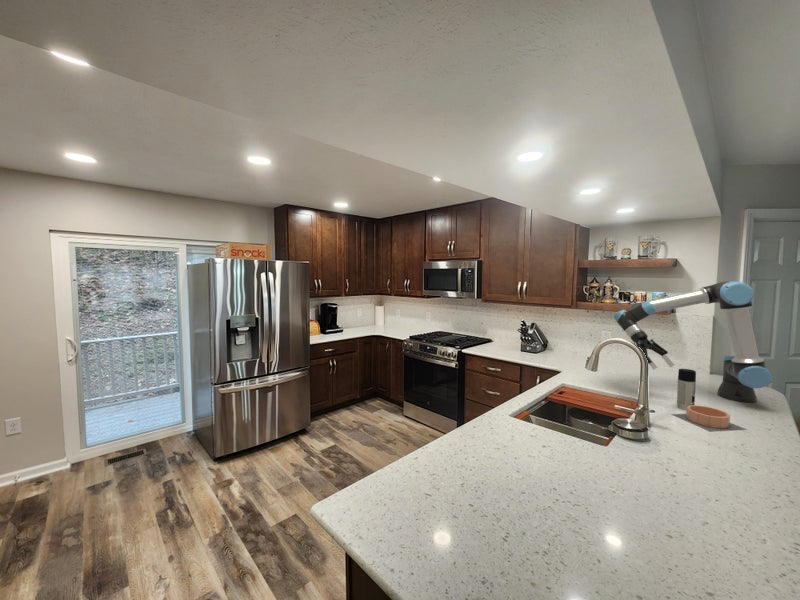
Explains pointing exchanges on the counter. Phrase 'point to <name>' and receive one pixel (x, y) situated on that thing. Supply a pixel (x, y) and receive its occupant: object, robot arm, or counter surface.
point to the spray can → (686, 388)
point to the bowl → (708, 416)
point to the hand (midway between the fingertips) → (664, 367)
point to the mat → (710, 429)
